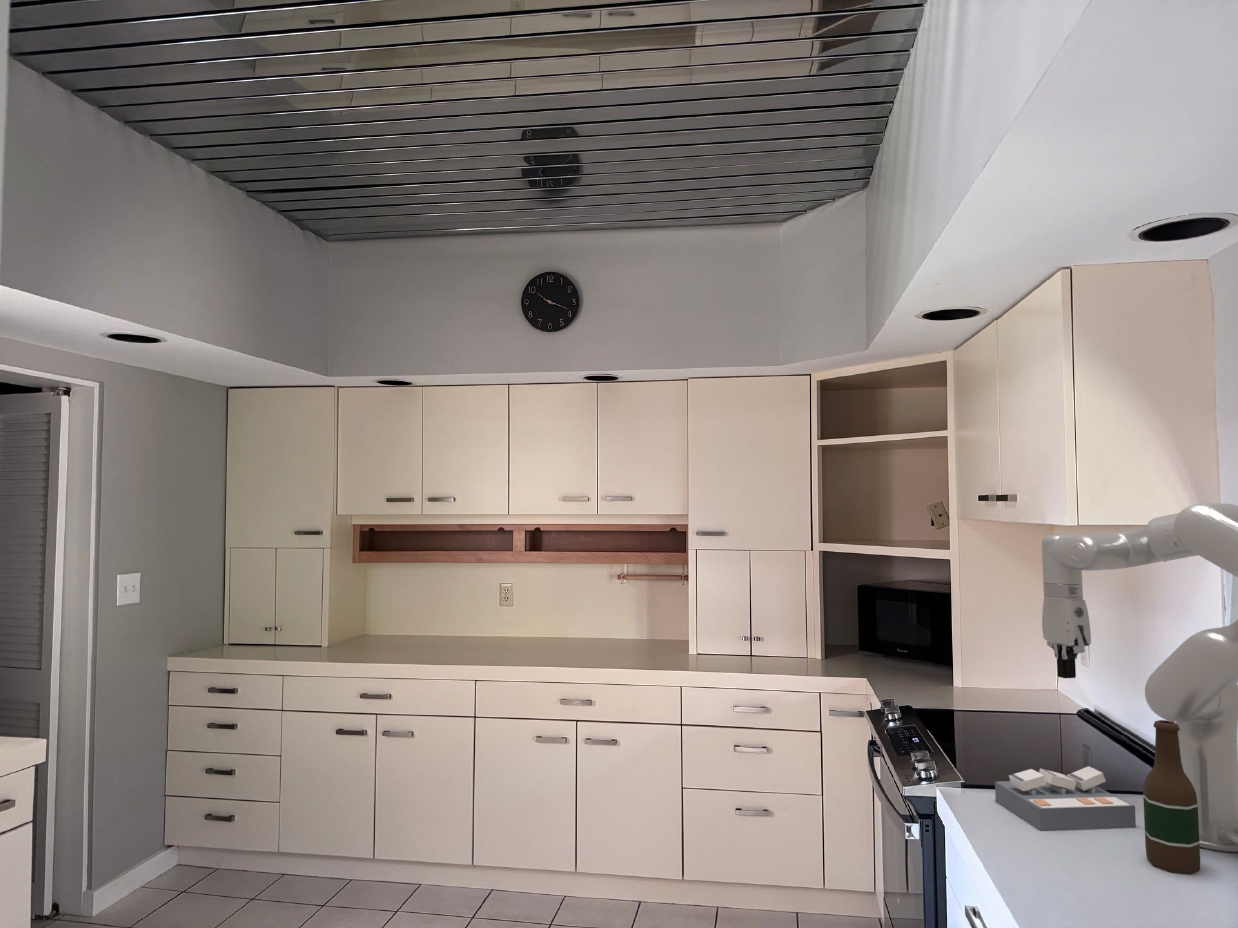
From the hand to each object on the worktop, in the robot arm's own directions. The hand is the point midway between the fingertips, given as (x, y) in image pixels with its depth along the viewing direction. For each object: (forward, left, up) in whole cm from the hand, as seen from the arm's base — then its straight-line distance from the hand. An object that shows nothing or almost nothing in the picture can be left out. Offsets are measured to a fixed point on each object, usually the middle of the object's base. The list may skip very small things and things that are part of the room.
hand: (1066, 677), depth 177 cm
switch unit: (-11, +9, -25) cm, 28 cm away
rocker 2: (-9, +3, -18) cm, 21 cm away
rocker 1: (-9, +15, -18) cm, 26 cm away
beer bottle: (-35, +5, -25) cm, 44 cm away
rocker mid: (-9, +9, -18) cm, 22 cm away
